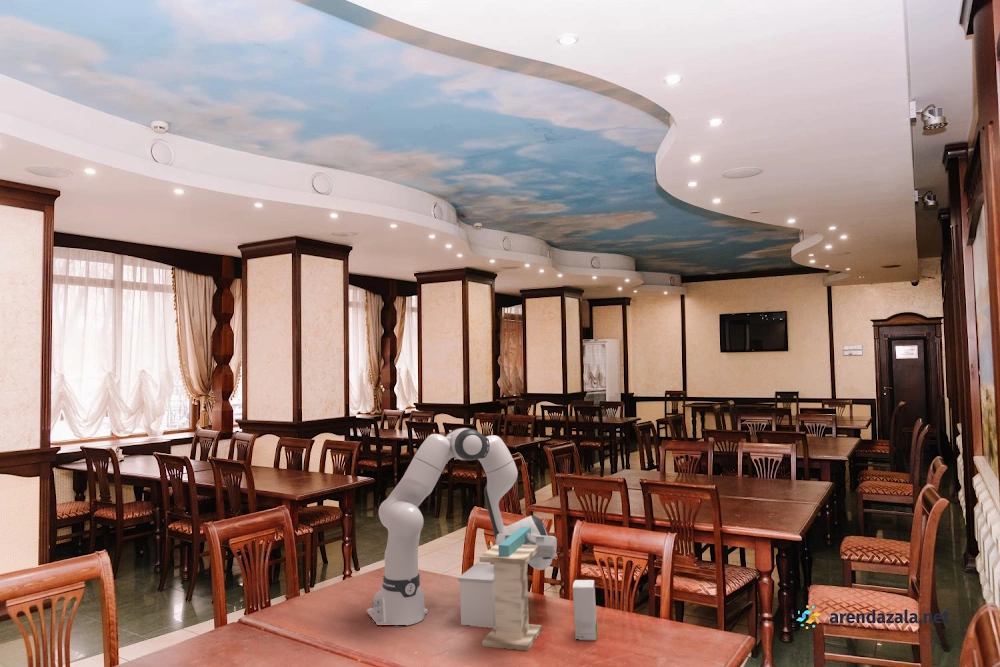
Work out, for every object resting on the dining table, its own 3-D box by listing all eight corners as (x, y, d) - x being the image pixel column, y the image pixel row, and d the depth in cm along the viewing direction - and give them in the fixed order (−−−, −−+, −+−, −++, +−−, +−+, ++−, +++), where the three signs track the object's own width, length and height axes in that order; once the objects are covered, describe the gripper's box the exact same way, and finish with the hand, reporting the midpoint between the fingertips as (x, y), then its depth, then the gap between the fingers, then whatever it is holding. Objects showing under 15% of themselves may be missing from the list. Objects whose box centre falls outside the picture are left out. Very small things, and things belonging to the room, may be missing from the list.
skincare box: (595, 641, 197) (593, 587, 198) (573, 640, 198) (571, 587, 199) (597, 630, 205) (595, 579, 206) (576, 629, 206) (574, 578, 207)
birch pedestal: (499, 626, 211) (496, 543, 213) (542, 630, 207) (538, 545, 208) (482, 646, 196) (479, 556, 198) (527, 650, 192) (524, 559, 193)
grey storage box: (477, 607, 229) (476, 563, 230) (510, 610, 225) (508, 565, 226) (459, 625, 213) (458, 577, 214) (493, 628, 209) (492, 580, 210)
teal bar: (521, 536, 221) (521, 526, 221) (531, 537, 220) (530, 527, 220) (498, 556, 198) (498, 545, 198) (509, 556, 197) (508, 545, 197)
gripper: (503, 537, 230) (491, 524, 219) (561, 539, 223) (551, 526, 212) (501, 555, 226) (488, 543, 215) (559, 558, 220) (549, 546, 209)
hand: (520, 535), depth 214 cm, fingers closed on teal bar, 3 cm apart
